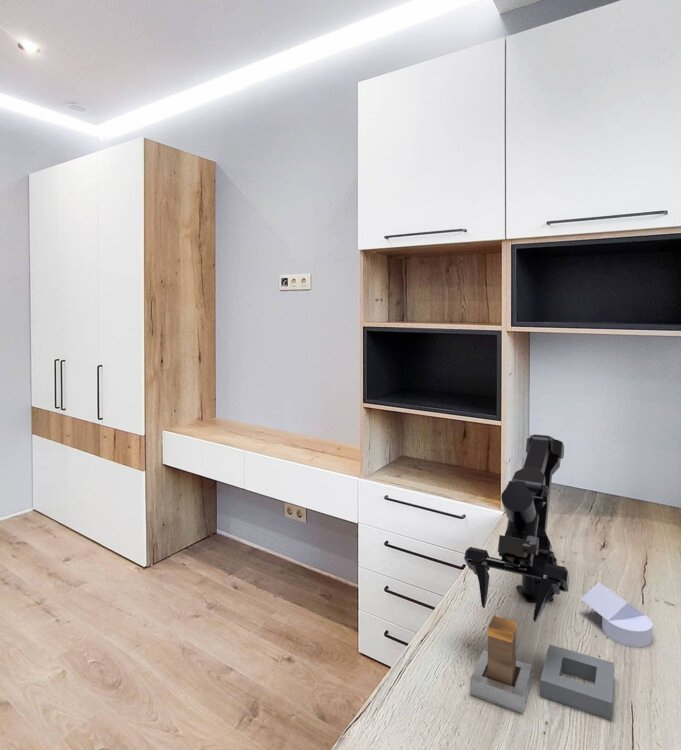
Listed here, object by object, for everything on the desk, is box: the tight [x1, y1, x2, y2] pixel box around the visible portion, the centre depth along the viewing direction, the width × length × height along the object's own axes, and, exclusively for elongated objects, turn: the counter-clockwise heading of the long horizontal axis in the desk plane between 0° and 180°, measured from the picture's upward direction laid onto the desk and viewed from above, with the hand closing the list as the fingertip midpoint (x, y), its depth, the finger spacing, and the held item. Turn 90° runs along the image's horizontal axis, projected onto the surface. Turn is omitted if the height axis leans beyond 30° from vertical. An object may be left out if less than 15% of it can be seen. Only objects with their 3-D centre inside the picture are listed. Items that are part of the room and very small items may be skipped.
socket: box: [539, 644, 615, 721], centre depth 88 cm, size 11×11×3 cm
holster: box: [469, 649, 533, 714], centre depth 88 cm, size 9×9×3 cm
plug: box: [487, 614, 518, 687], centre depth 88 cm, size 4×4×12 cm
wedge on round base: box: [580, 582, 654, 648], centre depth 105 cm, size 9×7×13 cm
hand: (508, 613), depth 91 cm, fingers open, 9 cm apart
